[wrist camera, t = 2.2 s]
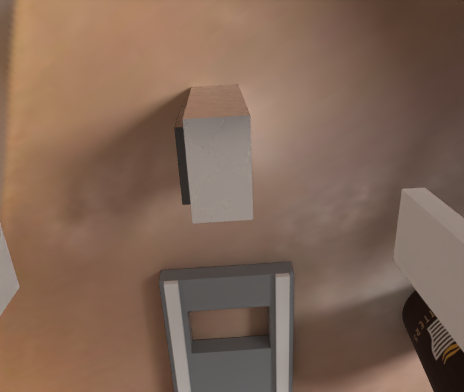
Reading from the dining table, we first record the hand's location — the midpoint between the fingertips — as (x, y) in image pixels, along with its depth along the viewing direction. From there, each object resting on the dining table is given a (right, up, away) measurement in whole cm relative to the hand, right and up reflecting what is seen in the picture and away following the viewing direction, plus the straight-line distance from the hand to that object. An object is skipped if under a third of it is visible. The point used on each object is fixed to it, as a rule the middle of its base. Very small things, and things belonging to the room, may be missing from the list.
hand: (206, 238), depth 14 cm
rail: (+1, -15, +23) cm, 27 cm away
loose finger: (0, +6, +14) cm, 15 cm away
